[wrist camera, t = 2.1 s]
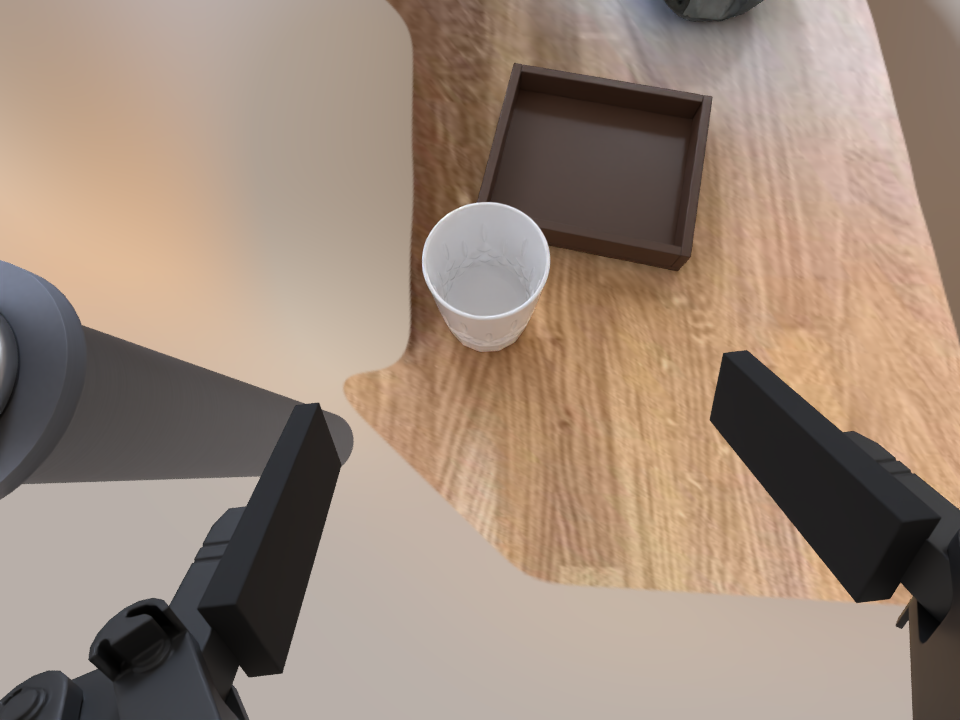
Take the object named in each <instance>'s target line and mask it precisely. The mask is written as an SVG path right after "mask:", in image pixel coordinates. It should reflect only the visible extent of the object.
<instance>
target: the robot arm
mask: <svg viewBox="0 0 960 720" xmlns="http://www.w3.org/2000/svg"><path fill="white" fill-rule="evenodd" d="M19 370H20V349H19V344H18V340H17V337H16V334H15V332H14V330H13V328H12V326H11V324H10V323H9V321H8V320H7V319H6V317H5V316H4V315H3V314H2V313H1V312H0V419H1V417H2V416H3V414H4V412H5V411H6V409H7V407H8V405H9V403H10V401H11V399H12V396H13V394H14V391H15V388H16V385H17V381H18V377H19ZM710 421H711V422H712V424H713V425H714V426H715V427H716V429H717V430H718V431H719V432H720V434H721V435H722V436H723V437H724V439H725V440H726V441H727V442H728V443H729V445H730V446H731V447H732V448H733V450H734V451H735V452H736V453H737V455H738V456H739V457H740V458H741V460H742V461H743V462H744V463H745V465H746V466H747V467H748V468H749V470H750V471H751V472H752V473H753V475H754V476H755V477H756V478H757V480H758V481H759V482H760V483H761V485H762V486H763V487H764V488H765V490H766V491H767V492H768V493H769V495H770V496H771V497H772V498H773V500H774V501H775V502H776V503H777V505H778V506H779V507H780V508H781V510H782V511H783V512H784V513H785V515H786V516H787V517H788V518H789V519H790V521H791V522H792V523H793V524H794V526H795V527H796V528H797V529H798V531H799V532H800V533H801V534H802V536H803V537H804V538H805V539H806V541H807V542H808V543H809V544H810V546H811V547H812V548H813V549H814V551H815V552H816V553H817V554H818V556H819V557H820V558H821V559H822V561H823V562H824V563H825V564H826V566H827V567H828V568H829V569H830V571H831V572H832V573H833V574H834V576H835V577H836V578H837V579H838V581H839V582H840V583H841V584H842V586H843V587H844V588H845V589H846V591H847V592H848V593H849V594H850V595H851V597H852V598H853V599H854V600H855V602H856V603H861V602H869V601H877V600H885V599H890V598H891V597H892V595H893V593H894V592H895V590H896V589H897V587H898V586H899V584H900V582H901V583H902V584H903V585H904V587H905V588H906V589H907V590H908V591H909V592H910V593H911V594H912V595H913V597H912V599H911V600H910V602H909V603H908V605H907V606H906V607H905V609H904V610H903V612H902V613H901V615H900V616H899V618H898V620H897V623H896V627H899V628H901V629H902V628H903V627H904V625H905V624H906V622H907V621H908V620H909V631H910V658H911V680H912V681H911V683H912V709H913V720H960V510H959V509H958V508H956V507H955V506H954V505H953V504H952V503H950V502H949V501H948V500H947V499H945V498H944V497H943V496H942V495H940V494H939V493H938V492H937V491H936V490H934V489H933V488H932V487H931V486H929V485H928V484H927V483H926V482H925V481H923V480H922V479H921V478H920V477H918V476H917V475H916V474H915V473H914V474H912V473H911V470H910V469H909V468H907V467H906V466H905V465H904V464H902V463H901V462H900V461H896V458H895V457H894V456H893V455H891V454H890V453H889V452H888V451H886V450H885V449H884V448H883V447H882V446H880V445H879V444H878V443H876V442H874V441H872V440H870V439H868V438H866V437H864V436H862V435H860V434H859V433H857V432H855V431H850V432H842V431H841V430H839V429H838V428H837V427H836V426H835V425H834V424H832V423H831V422H830V421H829V420H828V419H827V418H825V417H824V416H823V415H822V414H821V413H820V412H818V411H817V410H816V409H815V408H814V407H813V406H811V405H810V404H809V403H808V402H807V401H806V400H804V399H803V398H802V397H801V396H800V395H799V394H797V393H796V392H795V391H794V390H793V389H792V388H790V387H789V386H788V385H787V384H786V383H785V382H783V381H782V380H781V379H780V378H779V377H778V376H776V375H775V374H774V373H773V372H772V371H771V370H769V369H768V368H767V367H766V366H765V365H764V364H762V363H761V362H760V361H759V360H758V359H757V358H755V357H754V356H753V355H752V354H751V353H750V352H748V351H747V350H744V351H736V352H728V353H723V357H722V362H721V367H720V372H719V377H718V381H717V386H716V391H715V396H714V401H713V406H712V411H711V416H710ZM340 468H341V462H340V459H339V457H338V454H337V451H336V448H335V446H334V443H333V440H332V437H331V435H330V432H329V429H328V426H327V423H326V421H325V418H324V415H323V412H322V410H321V407H320V404H319V403H311V404H303V405H295V407H294V409H293V411H292V413H291V415H290V417H289V420H288V422H287V424H286V426H285V428H284V430H283V432H282V434H281V436H280V438H279V440H278V442H277V444H276V446H275V448H274V450H273V452H272V455H271V457H270V459H269V461H268V463H267V465H266V467H265V469H264V471H263V473H262V475H261V477H260V479H259V481H258V483H257V485H256V487H255V490H254V492H253V494H252V496H251V498H250V500H249V502H248V504H247V506H246V507H238V508H230V509H228V510H227V511H226V512H225V513H224V514H223V515H222V516H221V517H220V518H219V519H218V521H216V522H215V524H214V525H213V526H212V527H211V530H210V531H209V533H208V535H207V537H206V539H205V541H204V542H203V547H202V548H200V550H199V551H198V553H197V555H196V557H195V559H194V560H195V562H194V563H192V564H191V566H190V568H189V570H188V572H187V574H186V575H185V577H184V579H183V581H182V583H181V585H180V587H179V589H178V590H177V592H176V594H175V596H174V598H173V600H172V601H171V603H170V605H169V606H168V605H167V604H166V603H165V601H164V600H161V599H156V598H151V599H146V600H142V601H138V602H136V603H134V604H132V605H130V606H128V607H126V608H124V609H123V610H122V611H120V612H119V613H118V614H117V615H115V616H114V617H113V618H111V619H110V620H109V621H108V622H107V623H106V625H105V626H104V627H103V628H102V629H101V630H100V631H99V632H98V634H97V636H96V637H95V639H94V641H93V643H92V645H91V647H90V652H89V659H88V660H89V661H90V662H91V663H93V664H94V665H95V666H96V667H97V668H98V669H96V670H94V671H92V672H89V673H87V674H85V675H82V676H80V677H77V678H75V679H73V680H71V679H69V678H68V677H67V676H66V675H65V674H64V673H62V672H61V671H46V672H43V673H40V674H38V675H35V676H33V677H31V678H29V679H28V680H26V681H24V682H23V683H21V684H19V685H18V686H16V687H15V688H14V689H13V690H12V691H10V692H9V693H8V694H7V695H6V696H5V697H4V698H2V699H1V700H0V720H249V718H248V715H247V713H246V711H245V708H244V706H243V704H242V701H241V699H240V696H239V694H238V692H237V689H236V688H235V687H234V686H233V685H232V684H233V681H234V678H235V675H236V672H237V669H238V667H239V665H240V667H241V668H242V669H243V671H244V672H245V673H246V674H247V676H248V677H257V676H264V675H273V674H281V673H283V669H284V666H285V662H286V659H287V655H288V652H289V648H290V644H291V641H292V638H293V634H294V630H295V627H296V623H297V620H298V616H299V613H300V609H301V606H302V602H303V599H304V595H305V592H306V588H307V585H308V581H309V578H310V574H311V570H312V567H313V564H314V560H315V556H316V553H317V549H318V546H319V542H320V539H321V535H322V532H323V528H324V525H325V521H326V517H327V514H328V510H329V507H330V503H331V500H332V497H333V493H334V490H335V486H336V482H337V479H338V475H339V472H340Z"/></svg>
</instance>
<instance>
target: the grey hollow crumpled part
mask: <svg viewBox="0 0 960 720" xmlns="http://www.w3.org/2000/svg"><path fill="white" fill-rule="evenodd" d="M664 1H665V2H666V4H667V5H668V6H669V7H670V9H671V10H672V11H673V12H674V13H675V14H677V15H678V16H680V17H681V18H683V19H687V20H689V21H713V20H715V21H721V20H725V19H728V18H731V17H734V16H737V15H741V14H744V13H745V12H747V11H748V10H750V9H752V8H753V7H755V6H757V5H758V4H759V3H761V2H762V1H763V0H664Z"/></svg>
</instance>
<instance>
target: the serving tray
mask: <svg viewBox="0 0 960 720" xmlns="http://www.w3.org/2000/svg"><path fill="white" fill-rule="evenodd" d="M711 105H712V96H706V95H704V96H703V95H700V94H694V93H688V92H682V91H676V90H670V89H665V88H659V87H653V86H647V85H641V84H635V83H629V82H623V81H617V80H611V79H605V78H600V77H594V76H588V75H582V74H576V73H570V72H564V71H558V70H552V69H546V68H541V67H535V66H529V65H523V66H522V64H517V63H514V65H513V69H512V72H511V76H510V80H509V84H508V88H507V91H506V95H505V99H504V103H503V106H502V110H501V114H500V118H499V121H498V125H497V129H496V133H495V137H494V140H493V144H492V148H491V152H490V155H489V159H488V163H487V167H486V170H485V174H484V178H483V182H482V186H481V189H480V193H479V197H478V201H477V203H480V202H493V203H500V204H505V205H508V206H511V207H513V208H516V209H518V210H519V211H521V212H523V213H524V214H526V215H527V216H528V217H530V218H531V219H532V220H533V221H534V222H535V223H536V224H537V225H538V227H539V228H540V229H541V231H542V233H543V234H544V236H545V238H546V241H547V244H548V245H551V246H556V247H561V248H566V249H571V250H576V251H581V252H586V253H591V254H596V255H601V256H606V257H611V258H616V259H621V260H626V261H631V262H636V263H641V264H646V265H651V266H656V267H661V268H666V269H671V270H676V271H678V270H679V269H680V268H681V267H682V266H683V265H684V264H685V263H686V262H687V261H688V260H689V258H690V257H691V250H692V243H693V236H694V228H695V221H696V214H697V207H698V199H699V192H700V185H701V177H702V170H703V163H704V156H705V148H706V141H707V134H708V127H709V119H710V112H711Z"/></svg>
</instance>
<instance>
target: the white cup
mask: <svg viewBox="0 0 960 720" xmlns="http://www.w3.org/2000/svg"><path fill="white" fill-rule="evenodd" d="M422 269H423V274H424V278H425V281H426V283H427V285H428V288H429V290H430V292H431V294H432V296H433V298H434V300H435V303H436V305H437V307H438V309H439V311H440V313H441V315H442V317H443V319H444V321H445V322H446V324H447V325H448V327H449V329H450V331H451V332H452V333H453V335H454V336H455V337H456V338H457V339H458V340H459V341H460V342H461V343H462V345H464V346H467V347H469V348H472V349H474V350H476V351H479V352H488V351H499V350H501V349H503V348H505V347H507V346H509V345H511V344H513V343H515V341H516V340H517V339H518V337H519V336H520V335H521V333H522V332H523V331H524V329H525V328H526V325H527V324H528V322H529V320H530V318H531V316H532V314H533V312H534V310H535V308H536V305H537V303H538V300H539V298H540V295H541V293H542V290H543V288H544V285H545V283H546V281H547V278H548V274H549V270H550V252H549V247H548V244H547V241H546V238H545V236H544V234H543V233H542V231H541V229H540V228H539V227H538V225H537V224H536V223H535V222H534V221H533V220H532V219H531V218H530V217H528V216H527V215H526V214H524V213H523V212H521V211H519V210H518V209H516V208H513V207H511V206H508V205H505V204H500V203H493V202H480V203H473V204H469V205H465V206H463V207H460V208H458V209H456V210H454V211H452V212H450V213H449V214H447V215H446V216H445V217H443V218H442V219H441V220H440V221H439V222H438V223H437V224H436V225H435V227H434V228H433V229H432V231H431V232H430V234H429V236H428V238H427V240H426V243H425V246H424V249H423V255H422Z"/></svg>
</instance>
